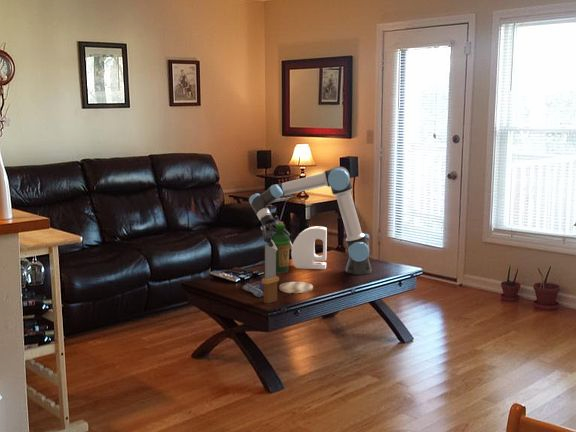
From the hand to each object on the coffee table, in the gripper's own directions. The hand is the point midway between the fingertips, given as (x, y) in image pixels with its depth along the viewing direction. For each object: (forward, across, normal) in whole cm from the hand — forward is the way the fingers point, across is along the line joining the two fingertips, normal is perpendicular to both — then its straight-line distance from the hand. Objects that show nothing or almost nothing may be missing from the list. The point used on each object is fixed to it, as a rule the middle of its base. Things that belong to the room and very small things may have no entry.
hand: (284, 249), depth 365 cm
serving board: (+23, +3, -4) cm, 24 cm away
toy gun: (+18, +22, -10) cm, 30 cm away
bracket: (+2, -34, -25) cm, 42 cm away
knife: (+29, +28, +2) cm, 41 cm away
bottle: (+7, 0, -12) cm, 14 cm away
